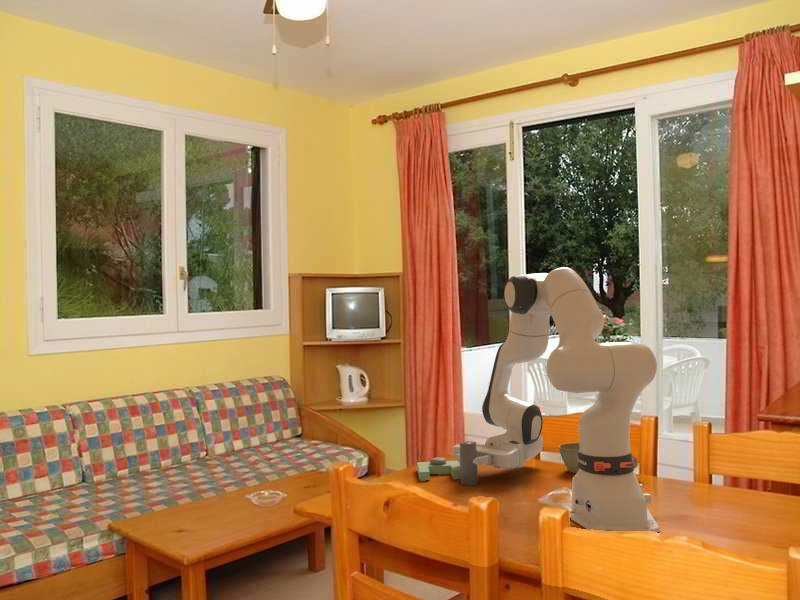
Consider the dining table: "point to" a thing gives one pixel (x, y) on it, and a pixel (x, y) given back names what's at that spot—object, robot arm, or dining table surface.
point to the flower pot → (570, 456)
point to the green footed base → (438, 468)
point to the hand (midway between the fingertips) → (466, 459)
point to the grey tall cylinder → (468, 463)
